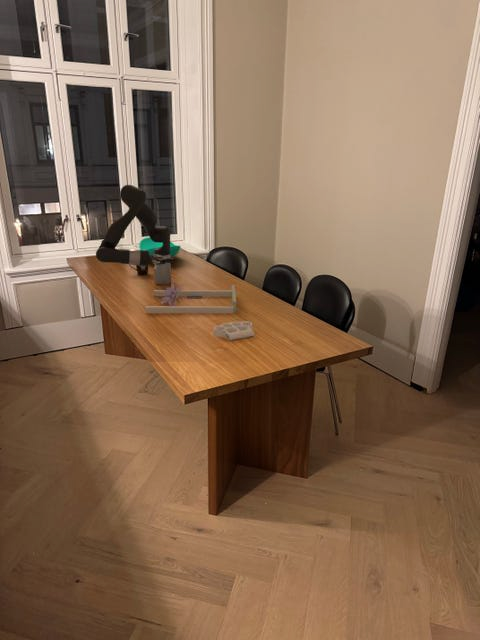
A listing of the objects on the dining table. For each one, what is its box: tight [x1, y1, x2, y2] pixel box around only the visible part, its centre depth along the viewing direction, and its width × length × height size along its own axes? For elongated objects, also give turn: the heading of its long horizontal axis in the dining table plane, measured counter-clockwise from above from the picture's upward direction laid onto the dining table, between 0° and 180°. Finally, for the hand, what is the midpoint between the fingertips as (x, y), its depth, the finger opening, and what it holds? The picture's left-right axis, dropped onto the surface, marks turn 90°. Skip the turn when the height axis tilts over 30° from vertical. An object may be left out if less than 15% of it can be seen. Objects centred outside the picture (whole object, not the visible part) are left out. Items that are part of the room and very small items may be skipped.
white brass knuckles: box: [213, 320, 255, 342], centre depth 187 cm, size 3×18×15 cm
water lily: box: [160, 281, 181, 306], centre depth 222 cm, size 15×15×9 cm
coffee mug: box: [128, 264, 149, 276], centre depth 275 cm, size 12×9×10 cm
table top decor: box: [139, 236, 182, 258], centre depth 311 cm, size 40×28×13 cm
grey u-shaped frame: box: [145, 284, 237, 314], centre depth 222 cm, size 44×28×6 cm, turn 93°
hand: (173, 260), depth 217 cm, fingers closed
